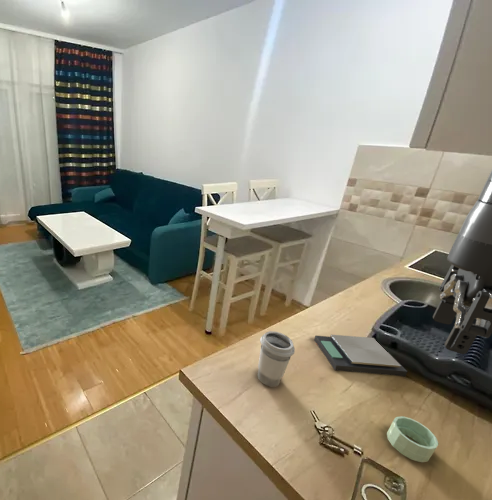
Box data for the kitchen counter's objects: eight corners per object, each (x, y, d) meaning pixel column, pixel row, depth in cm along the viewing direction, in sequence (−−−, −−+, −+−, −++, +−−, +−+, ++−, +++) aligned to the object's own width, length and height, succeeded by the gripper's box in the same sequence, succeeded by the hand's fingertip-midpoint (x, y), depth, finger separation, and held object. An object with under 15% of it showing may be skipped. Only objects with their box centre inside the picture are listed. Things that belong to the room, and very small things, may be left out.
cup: (290, 388, 65) (303, 346, 61) (269, 398, 63) (280, 355, 58) (266, 366, 71) (276, 326, 67) (245, 374, 68) (254, 334, 64)
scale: (373, 347, 79) (377, 339, 78) (403, 379, 69) (408, 370, 68) (312, 342, 80) (315, 334, 79) (333, 373, 70) (337, 364, 69)
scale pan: (372, 339, 77) (373, 337, 77) (400, 367, 68) (401, 365, 68) (330, 336, 78) (330, 334, 78) (351, 363, 69) (352, 361, 69)
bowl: (410, 433, 56) (419, 417, 54) (437, 467, 50) (448, 450, 49) (377, 430, 56) (385, 414, 55) (400, 463, 51) (410, 447, 49)
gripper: (574, 262, 31) (499, 375, 38) (518, 230, 42) (467, 321, 49) (476, 246, 35) (423, 350, 42) (448, 220, 46) (409, 306, 52)
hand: (447, 335), depth 45 cm, fingers open, 8 cm apart
